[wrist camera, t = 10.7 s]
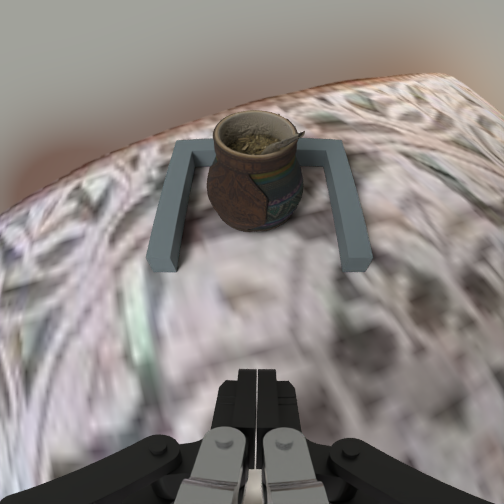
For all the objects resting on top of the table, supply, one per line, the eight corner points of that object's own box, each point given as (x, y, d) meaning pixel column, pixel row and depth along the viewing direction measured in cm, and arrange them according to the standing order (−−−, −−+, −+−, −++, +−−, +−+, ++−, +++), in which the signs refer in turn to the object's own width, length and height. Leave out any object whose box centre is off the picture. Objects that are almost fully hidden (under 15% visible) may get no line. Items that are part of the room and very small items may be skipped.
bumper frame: (338, 155, 29) (341, 139, 28) (365, 271, 22) (373, 257, 21) (180, 156, 30) (176, 140, 28) (153, 271, 23) (145, 257, 21)
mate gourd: (251, 167, 29) (251, 71, 20) (319, 208, 26) (341, 107, 17) (194, 211, 26) (172, 109, 17) (263, 264, 23) (268, 158, 15)
